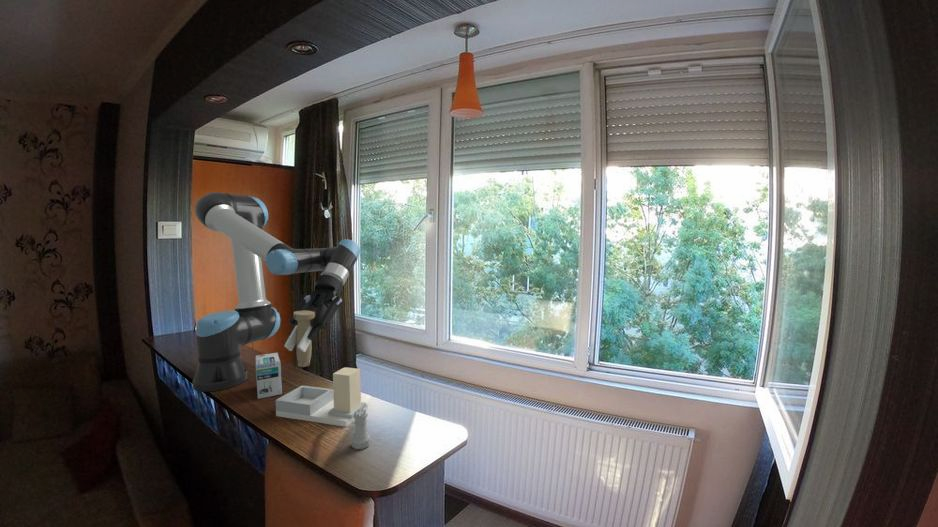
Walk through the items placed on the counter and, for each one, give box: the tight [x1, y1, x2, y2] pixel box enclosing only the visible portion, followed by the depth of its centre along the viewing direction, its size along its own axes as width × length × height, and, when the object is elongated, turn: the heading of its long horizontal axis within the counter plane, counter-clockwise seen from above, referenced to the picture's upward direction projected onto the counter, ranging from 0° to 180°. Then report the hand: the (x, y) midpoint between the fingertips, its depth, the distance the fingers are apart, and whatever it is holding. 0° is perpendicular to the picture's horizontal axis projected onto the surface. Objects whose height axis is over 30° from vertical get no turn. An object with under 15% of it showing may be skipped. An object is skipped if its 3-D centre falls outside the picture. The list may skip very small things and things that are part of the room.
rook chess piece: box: [350, 409, 372, 450], centre depth 82 cm, size 4×4×8 cm
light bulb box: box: [254, 352, 283, 400], centre depth 112 cm, size 11×7×11 cm, turn 32°
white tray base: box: [275, 366, 368, 428], centre depth 98 cm, size 22×10×12 cm, turn 75°
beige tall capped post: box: [293, 310, 316, 368], centre depth 98 cm, size 5×6×15 cm
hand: (294, 348), depth 95 cm, fingers closed on beige tall capped post, 4 cm apart
